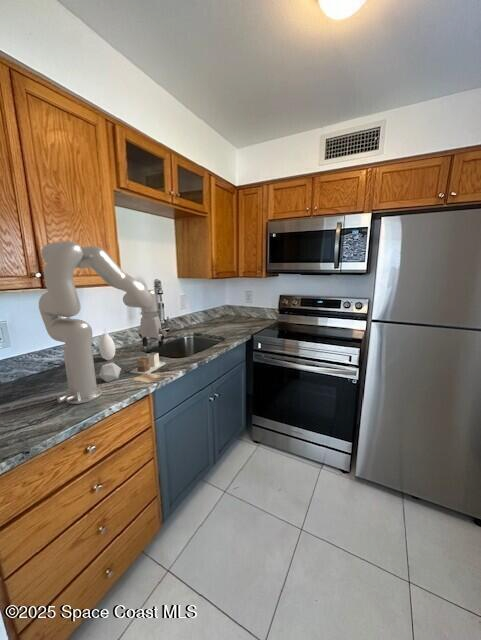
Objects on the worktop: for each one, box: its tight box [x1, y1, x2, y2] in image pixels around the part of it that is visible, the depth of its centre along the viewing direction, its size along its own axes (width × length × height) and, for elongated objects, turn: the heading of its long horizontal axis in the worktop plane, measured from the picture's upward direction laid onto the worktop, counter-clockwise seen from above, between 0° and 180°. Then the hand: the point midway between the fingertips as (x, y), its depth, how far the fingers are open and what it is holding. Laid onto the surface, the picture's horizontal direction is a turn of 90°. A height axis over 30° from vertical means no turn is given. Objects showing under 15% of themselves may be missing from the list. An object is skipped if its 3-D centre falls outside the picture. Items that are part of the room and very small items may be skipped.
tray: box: [129, 361, 167, 375], centre depth 135 cm, size 16×10×1 cm, turn 162°
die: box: [98, 362, 122, 383], centre depth 121 cm, size 8×9×10 cm
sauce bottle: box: [98, 329, 116, 361], centre depth 148 cm, size 8×8×18 cm
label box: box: [146, 352, 160, 367], centre depth 138 cm, size 4×4×6 cm
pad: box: [131, 372, 161, 384], centre depth 123 cm, size 9×9×1 cm
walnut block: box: [136, 356, 150, 372], centre depth 131 cm, size 4×4×6 cm
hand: (153, 346), depth 138 cm, fingers open, 9 cm apart
